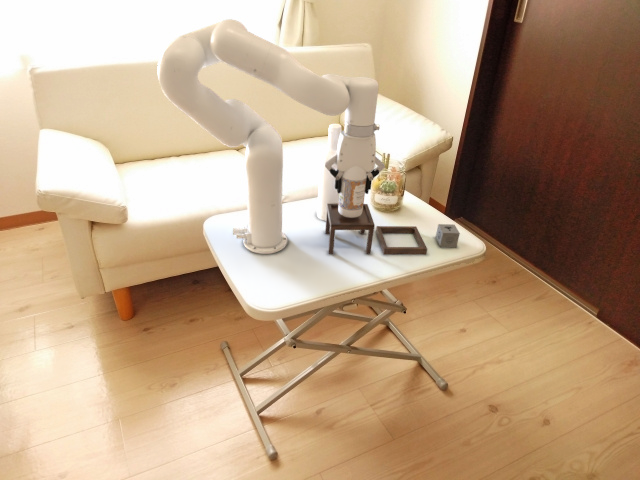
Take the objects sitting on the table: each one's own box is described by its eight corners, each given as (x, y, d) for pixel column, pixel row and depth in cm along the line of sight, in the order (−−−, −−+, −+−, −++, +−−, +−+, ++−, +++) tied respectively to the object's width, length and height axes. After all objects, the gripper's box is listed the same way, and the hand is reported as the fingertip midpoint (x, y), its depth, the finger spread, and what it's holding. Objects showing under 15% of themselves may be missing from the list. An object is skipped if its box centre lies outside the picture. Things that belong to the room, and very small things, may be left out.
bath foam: (347, 220, 124) (354, 152, 114) (333, 209, 129) (338, 142, 118) (367, 214, 128) (375, 147, 117) (352, 204, 133) (359, 138, 122)
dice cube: (451, 238, 139) (454, 224, 136) (456, 247, 135) (459, 233, 132) (435, 238, 139) (438, 224, 136) (439, 247, 135) (443, 232, 132)
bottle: (341, 222, 144) (349, 130, 128) (316, 221, 144) (321, 129, 127) (340, 210, 150) (348, 121, 134) (316, 208, 150) (322, 120, 134)
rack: (328, 254, 128) (331, 224, 123) (325, 231, 139) (327, 203, 133) (426, 254, 131) (432, 225, 126) (415, 231, 141) (420, 204, 136)
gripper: (389, 124, 119) (380, 185, 129) (323, 123, 118) (319, 185, 127) (395, 134, 113) (385, 198, 123) (326, 132, 111) (321, 197, 121)
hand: (352, 191), depth 125 cm, fingers closed on bath foam, 7 cm apart
